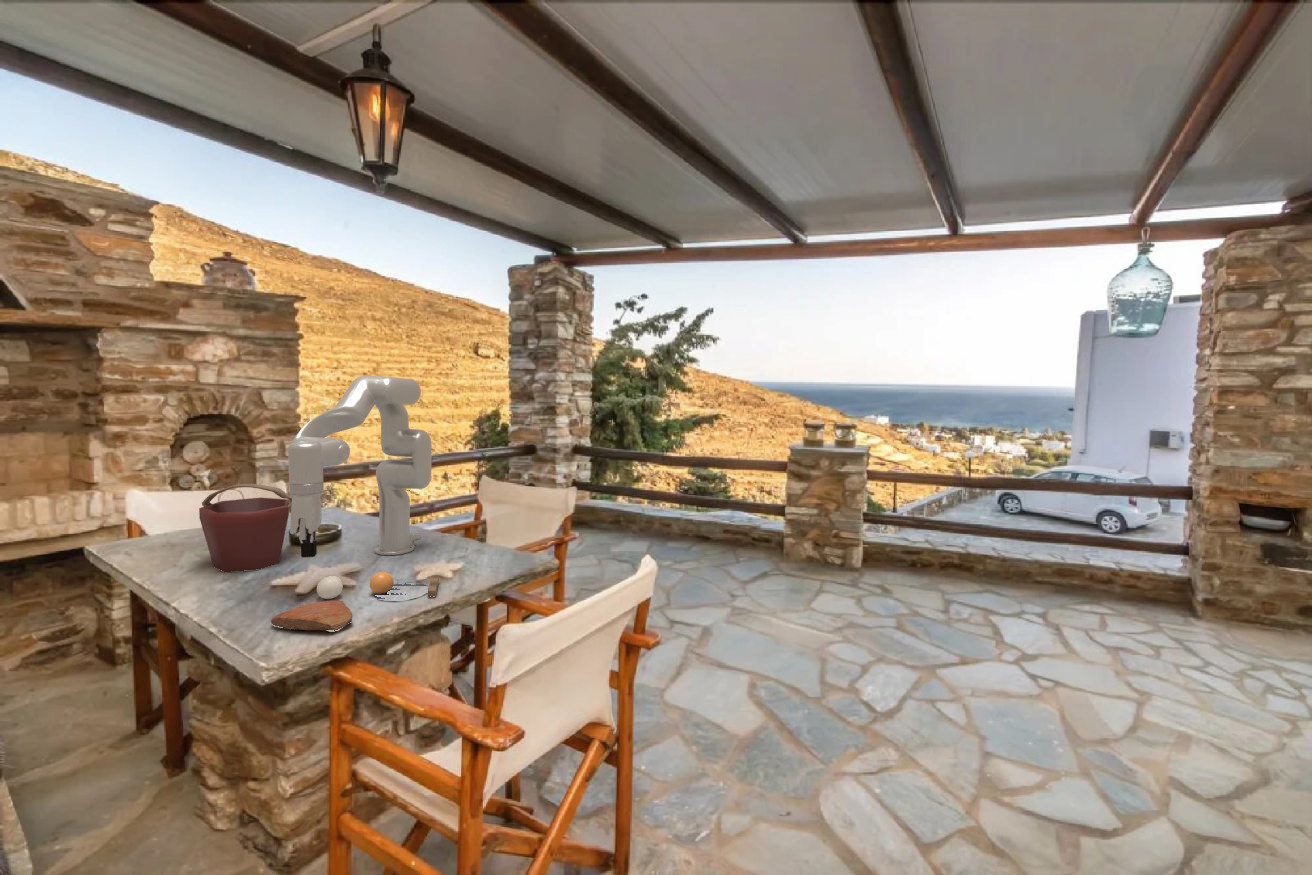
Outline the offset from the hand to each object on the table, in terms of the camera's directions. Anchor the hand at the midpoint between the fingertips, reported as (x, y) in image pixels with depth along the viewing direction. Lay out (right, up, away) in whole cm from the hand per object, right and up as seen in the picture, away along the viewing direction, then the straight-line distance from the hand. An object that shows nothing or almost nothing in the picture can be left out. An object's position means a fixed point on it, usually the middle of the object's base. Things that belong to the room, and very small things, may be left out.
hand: (309, 556), depth 145 cm
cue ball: (+5, -9, +1) cm, 10 cm away
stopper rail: (+29, -12, +10) cm, 33 cm away
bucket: (-34, -8, +24) cm, 43 cm away
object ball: (+17, -9, +6) cm, 20 cm away
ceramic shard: (+11, -14, -15) cm, 23 cm away
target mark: (+21, -12, +7) cm, 26 cm away
